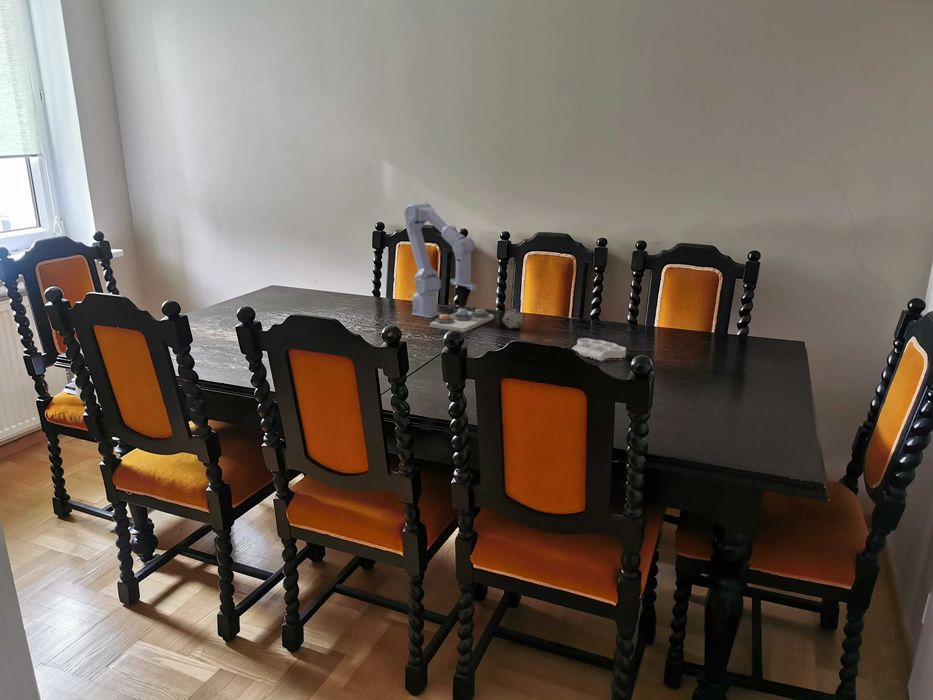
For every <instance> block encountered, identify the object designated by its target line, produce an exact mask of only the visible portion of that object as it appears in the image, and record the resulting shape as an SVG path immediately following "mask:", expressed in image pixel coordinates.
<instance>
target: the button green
mask: <svg viewBox="0 0 933 700" xmlns="http://www.w3.org/2000/svg"><path fill="white" fill-rule="evenodd" d="M474 312H475V314H476V315H484V314H485V312H486V308H476V309H474Z"/></svg>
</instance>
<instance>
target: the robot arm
mask: <svg viewBox="0 0 933 700" xmlns="http://www.w3.org/2000/svg"><path fill="white" fill-rule="evenodd" d="M403 215H404V219H405V222H406V223H405V225H406V226H405V227H406V228H405V229H406V232H407V235H408V240H409V243H410V247H411V250H412V255H413V257H414V262H415V265H416V269H417V272H416V273H415V275H414V277H413V278H414V288H415V290H416V292H415V293H414V295H413V296H412V313H411V316H416V317H424V318H429V319H431V318H432V319H433V318H435V317H437V316H438V317H439V315H440V314H442V312H438V293H439V290H440V289H441V287H442V280H441V277H439V275H438V273H437V270H435V269H434V268H433V267H432V265H431V262H430V257H429V254H428V250H427V247H426V242H425V240H424V234H423V232H422V228H423V226H424V225H425V224H426V223H427V222H428V223H429V224H430V225H432V226H434V228H435V229H436V230H438V231H439V232H441V238H443V240H445V242H447V244H449V245H450V247H452V252H453V253H454V258H455V278H450V285H454V286H456V287H453V290H454V292H455V293H456V296H457V301H458V304H459V306H460V307H466V306H467V304H468V303H467V302H468V299H469V296H470V295H471V292H472V291H473V292H474V291H477V285H476V284H474V282H471V281H472V280H471V275H472V274H471V271H472V269H471V268H472V266H471V265H472V252H473V251H474V250H475V243H474V241H473V240H472V239H471V237H466V236H465V235H464V234H461V232H460V231H459V230H457V227H456V226H455V225H453V226H452V225H448V224H447V223H446V222H445V221H444V220H443V219H442V218H441V217H440V216H439V214H437V212H436V211H435V208H434V207H433V206H432V205H431V204H430V203H428V202H423V203H414V204H413V203H412V204H411V203H410V204H407V206H406V208H405V209H404V212H403Z"/></svg>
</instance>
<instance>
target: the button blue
mask: <svg viewBox="0 0 933 700" xmlns="http://www.w3.org/2000/svg"><path fill="white" fill-rule="evenodd" d="M468 311H469V309H467V308H457V311H456V312H457V315H458V316H461V317H465V316H468Z"/></svg>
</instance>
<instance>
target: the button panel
mask: <svg viewBox="0 0 933 700" xmlns="http://www.w3.org/2000/svg"><path fill="white" fill-rule="evenodd" d="M449 315H450V320H439V316H438V317H436V318H435V317H434V318H435V319H434V321H431V322H429V327H430V328H434V329H441V330H447V331H452V330H458V331H460V332H459V333H466V332H467V331H471V330H472V329H474V328H476V327H479V326H482V325H483V324H485V323H488V322H490V321H491V320H494V319H495V318H494V317H495V315H494V314H491V313H489V312H487V311H485V314H484V315H476V314H475V311H470V310H468V316H465V317H461V316H458V315H457V311H456V312H454V313H451V314H449ZM458 331H457V332H458Z"/></svg>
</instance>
